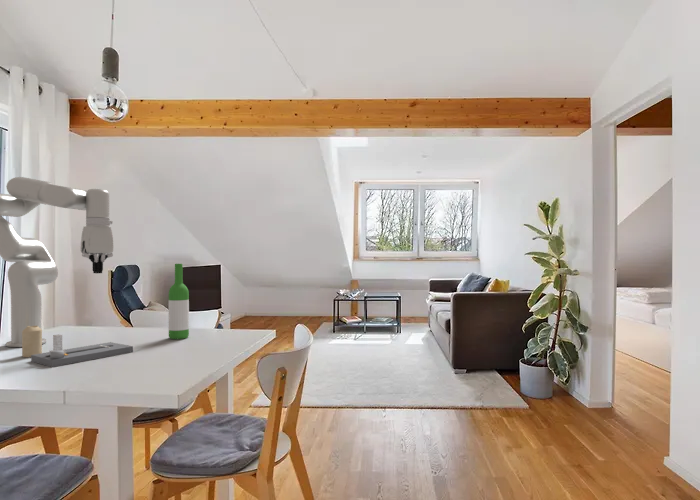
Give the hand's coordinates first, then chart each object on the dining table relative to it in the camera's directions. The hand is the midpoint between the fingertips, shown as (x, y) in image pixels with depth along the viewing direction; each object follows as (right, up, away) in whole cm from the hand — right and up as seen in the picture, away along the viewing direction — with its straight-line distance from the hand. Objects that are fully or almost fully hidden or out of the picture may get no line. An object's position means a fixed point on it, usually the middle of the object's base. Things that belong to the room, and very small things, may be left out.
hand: (97, 273), depth 175 cm
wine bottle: (+23, -27, +18) cm, 40 cm away
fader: (-1, -24, -23) cm, 33 cm away
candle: (-14, -27, -14) cm, 34 cm away
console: (+4, -27, -16) cm, 31 cm away
